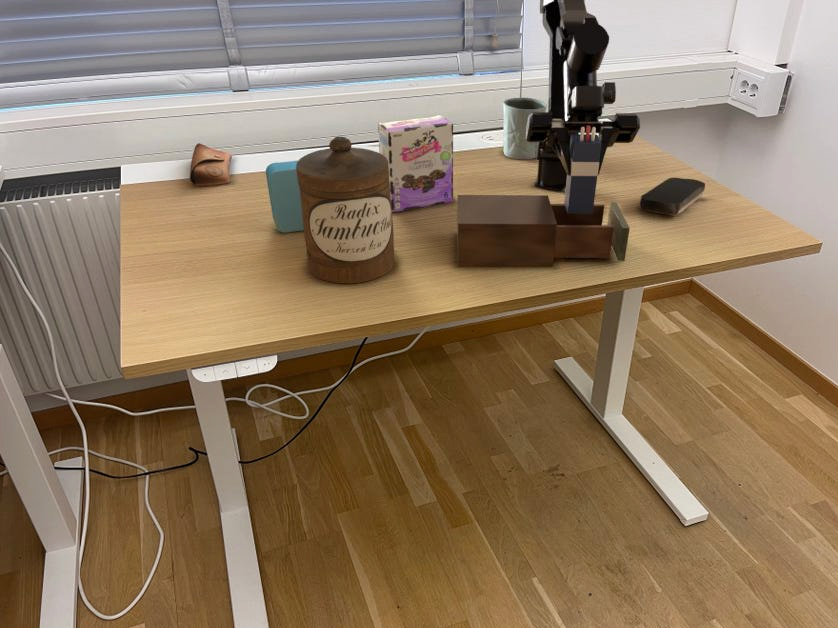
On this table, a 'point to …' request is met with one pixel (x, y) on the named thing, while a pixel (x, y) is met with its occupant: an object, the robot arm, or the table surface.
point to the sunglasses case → (209, 166)
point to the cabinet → (505, 231)
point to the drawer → (590, 233)
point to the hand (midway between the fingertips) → (583, 174)
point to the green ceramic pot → (519, 126)
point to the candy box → (418, 161)
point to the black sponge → (672, 196)
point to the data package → (285, 196)
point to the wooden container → (346, 212)
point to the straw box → (582, 172)
